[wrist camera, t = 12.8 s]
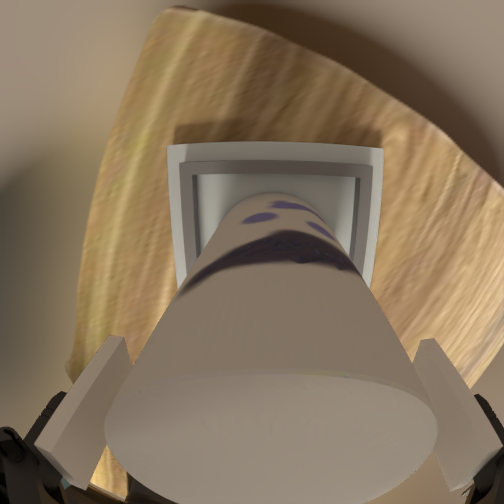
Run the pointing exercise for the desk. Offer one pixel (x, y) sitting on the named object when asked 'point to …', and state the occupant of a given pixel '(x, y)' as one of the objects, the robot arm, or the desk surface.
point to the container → (272, 375)
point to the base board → (275, 190)
